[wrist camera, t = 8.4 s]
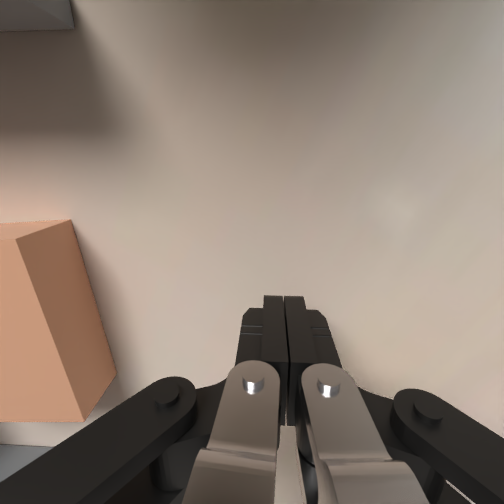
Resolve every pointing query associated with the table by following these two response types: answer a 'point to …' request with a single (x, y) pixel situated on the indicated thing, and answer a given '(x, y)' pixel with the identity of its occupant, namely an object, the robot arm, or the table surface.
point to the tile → (48, 327)
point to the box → (26, 19)
